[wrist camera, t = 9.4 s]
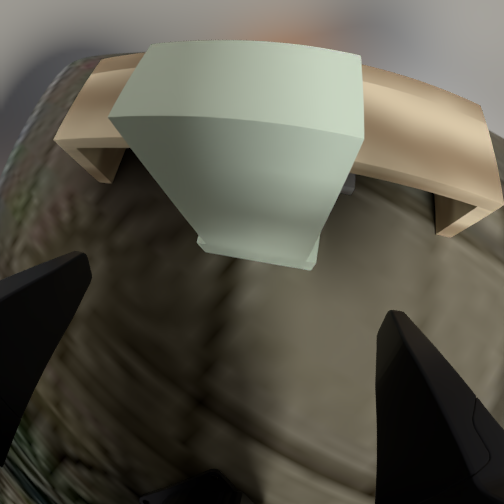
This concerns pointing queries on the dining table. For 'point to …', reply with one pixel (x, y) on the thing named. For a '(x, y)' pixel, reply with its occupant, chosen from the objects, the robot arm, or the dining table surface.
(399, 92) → the beige u-shaped channel
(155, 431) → the dining table surface
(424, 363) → the robot arm
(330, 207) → the sage green flanged block
